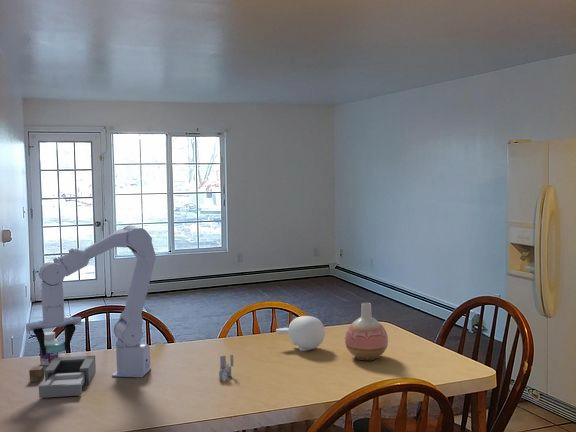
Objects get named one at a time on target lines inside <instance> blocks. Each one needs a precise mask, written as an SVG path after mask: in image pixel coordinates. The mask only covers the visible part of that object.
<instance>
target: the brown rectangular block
mask: <svg viewBox="0 0 576 432" xmlns="http://www.w3.org/2000/svg"><path fill="white" fill-rule="evenodd" d="M44 367H45V365H40V366H39V365H38V366H31V367H30V369H29V370H28V372H29V383H36V382H38V383H39V382H43V380H44V379H45V369H44Z"/></svg>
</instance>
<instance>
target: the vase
mask: <svg viewBox="0 0 576 432" xmlns="http://www.w3.org/2000/svg"><path fill="white" fill-rule="evenodd" d="M360 308H361V309H360V310H361V311H360V312H361V313H360V317H358V318H357V319H355V320H354V321H353V322H351V323H350V325H349V326H348V327H347V330H346V332H345V336H344V344H345V347H346V350H348V352H349V353H350V354H351V355H352V356H354V358H356V359H357V360H360V361H364V362H365V361H367V362H368V361H374V360H377V359H379V357H380V356H382V355H383V354H384V353H385V351H386V350H387V348H388V346H389V337H388V333H387V331H386V328H385V327H384V326H383V324H381V322H380V321H378V320H377V319H376V318H375V317H372V303H370V302H361V307H360Z"/></svg>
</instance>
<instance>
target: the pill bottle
mask: <svg viewBox="0 0 576 432" xmlns="http://www.w3.org/2000/svg"><path fill="white" fill-rule="evenodd" d="M56 341H58V339H57V338H56V332H55V331H45V332H44V345H45V344H46V343H50V342H56ZM58 357H59V353H45V355H44V356H43V355H42V352H41V347H40V346H39V358H40V359H39V360H40V361H39V362H40V366H49V365H50V363H51V362H52V361H53V359H54V358H58Z"/></svg>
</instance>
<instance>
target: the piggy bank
mask: <svg viewBox="0 0 576 432" xmlns="http://www.w3.org/2000/svg"><path fill="white" fill-rule="evenodd" d="M275 334H278V335H288V337H289V339H290V340H291V345H292V346H298V350H299V351H301V352H306V351H309V350H314V349H317V348H318V347H319V346H321V345H322V343H323V341H324V340H325V337H326V336H325V335H326V329H325V326H324V323H322V321H321V320H320V319H319V318H318V317H315V316H311V315H301V316H298V317H295V318H294V319H293V320H291V321H290V323H289V325H288V327H280V328H276V329H275Z"/></svg>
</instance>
